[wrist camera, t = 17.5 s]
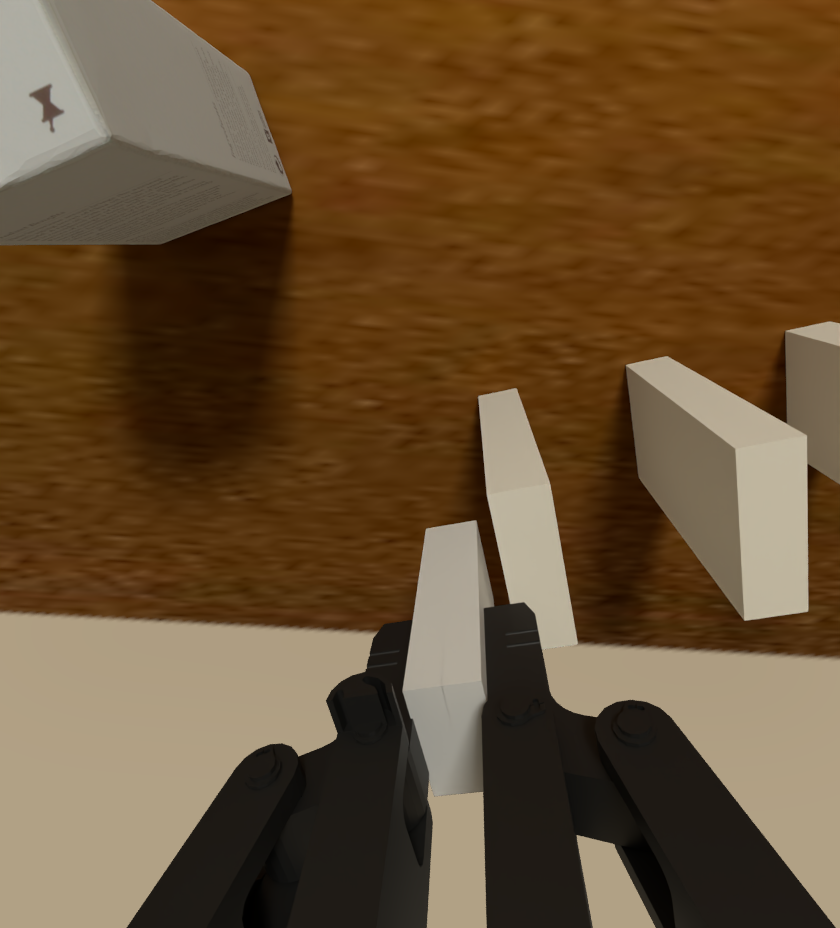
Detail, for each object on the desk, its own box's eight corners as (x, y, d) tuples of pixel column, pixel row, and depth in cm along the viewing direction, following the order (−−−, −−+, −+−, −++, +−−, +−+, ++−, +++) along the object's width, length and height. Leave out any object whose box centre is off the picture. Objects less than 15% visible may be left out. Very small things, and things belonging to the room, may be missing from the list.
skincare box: (250, 68, 20) (-12, -142, 9) (296, 195, 22) (118, 146, 11) (103, 132, 21) (-291, 13, 10) (156, 248, 23) (-140, 256, 12)
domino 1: (500, 503, 26) (520, 652, 16) (477, 396, 24) (486, 495, 15) (536, 496, 25) (577, 644, 16) (516, 388, 24) (549, 483, 14)
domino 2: (638, 477, 25) (744, 620, 15) (625, 364, 23) (735, 448, 14) (677, 470, 24) (808, 611, 15) (666, 356, 23) (806, 435, 14)
